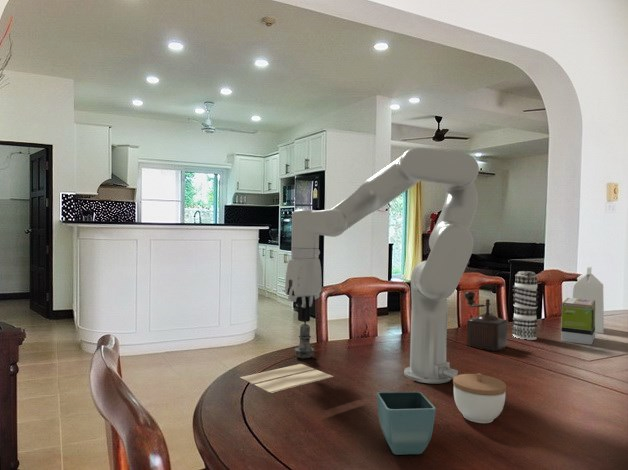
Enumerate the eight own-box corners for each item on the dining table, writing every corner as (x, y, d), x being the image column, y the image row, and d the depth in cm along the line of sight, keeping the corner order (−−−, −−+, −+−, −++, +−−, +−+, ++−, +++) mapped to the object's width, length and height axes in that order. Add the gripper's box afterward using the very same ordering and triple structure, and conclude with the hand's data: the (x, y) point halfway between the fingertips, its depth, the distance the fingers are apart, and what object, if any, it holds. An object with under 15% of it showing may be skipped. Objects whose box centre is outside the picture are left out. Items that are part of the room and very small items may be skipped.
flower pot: (374, 438, 88) (375, 391, 87) (419, 437, 88) (420, 390, 88) (385, 461, 79) (386, 409, 79) (435, 460, 80) (436, 408, 79)
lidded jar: (476, 431, 91) (478, 384, 91) (441, 411, 101) (442, 369, 101) (516, 423, 96) (518, 378, 96) (479, 405, 105) (480, 364, 105)
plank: (333, 380, 120) (333, 376, 120) (270, 397, 107) (270, 392, 107) (316, 373, 125) (316, 369, 125) (254, 388, 112) (254, 384, 112)
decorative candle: (508, 333, 180) (510, 270, 180) (533, 335, 179) (535, 271, 179) (515, 339, 171) (517, 272, 171) (541, 340, 170) (543, 273, 169)
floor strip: (315, 373, 125) (315, 369, 125) (253, 389, 112) (253, 383, 112) (300, 367, 130) (300, 363, 130) (239, 382, 117) (239, 377, 117)
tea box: (566, 334, 183) (567, 296, 182) (595, 338, 177) (596, 299, 176) (560, 341, 170) (561, 301, 170) (591, 345, 164) (593, 304, 164)
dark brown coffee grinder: (508, 346, 161) (509, 295, 160) (496, 352, 152) (497, 298, 152) (465, 338, 171) (467, 290, 171) (452, 343, 163) (453, 292, 163)
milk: (603, 333, 185) (605, 269, 184) (570, 329, 191) (572, 267, 191) (603, 328, 195) (605, 267, 194) (572, 324, 201) (574, 265, 201)
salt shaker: (311, 364, 133) (312, 323, 133) (292, 363, 135) (293, 322, 134) (315, 359, 139) (316, 319, 139) (297, 357, 140) (297, 318, 140)
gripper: (315, 253, 134) (314, 315, 134) (275, 254, 124) (274, 322, 124) (333, 254, 129) (332, 319, 129) (293, 256, 118) (292, 327, 119)
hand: (303, 320), depth 126 cm, fingers closed
